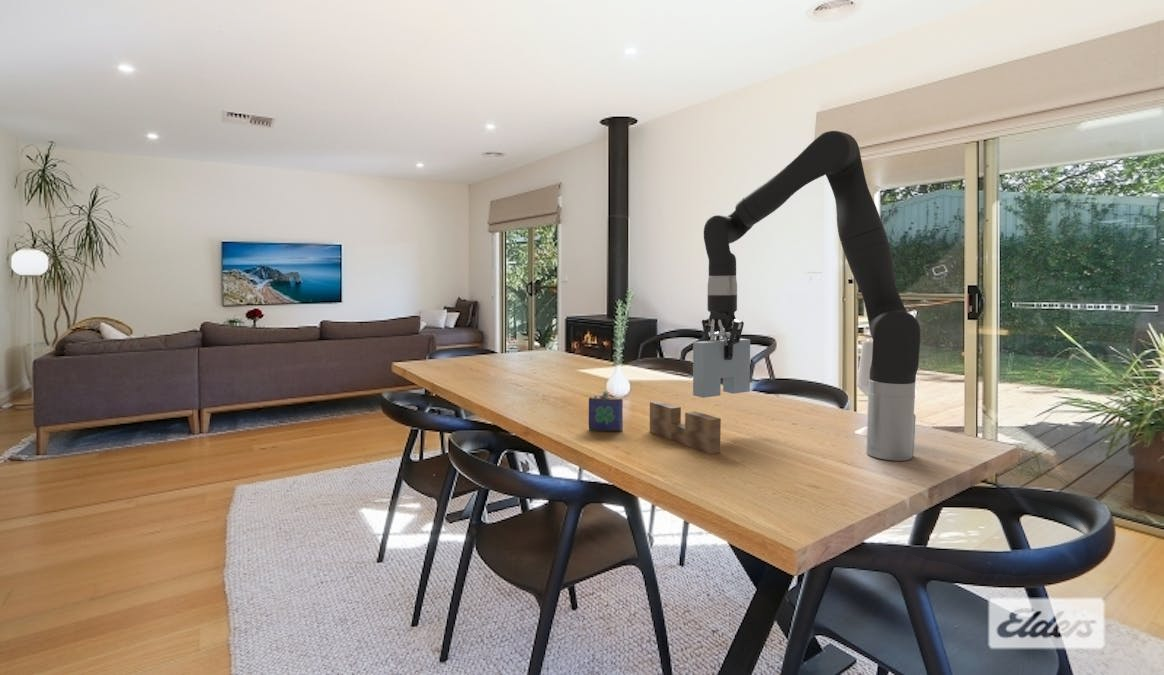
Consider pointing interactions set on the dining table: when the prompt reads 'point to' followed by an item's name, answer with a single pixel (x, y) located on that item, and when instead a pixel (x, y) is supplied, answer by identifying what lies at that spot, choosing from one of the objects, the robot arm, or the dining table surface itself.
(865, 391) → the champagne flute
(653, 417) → the walnut slotted plate
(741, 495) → the dining table surface
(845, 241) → the robot arm
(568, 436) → the dining table surface
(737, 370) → the tall grey upright block
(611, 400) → the flask
